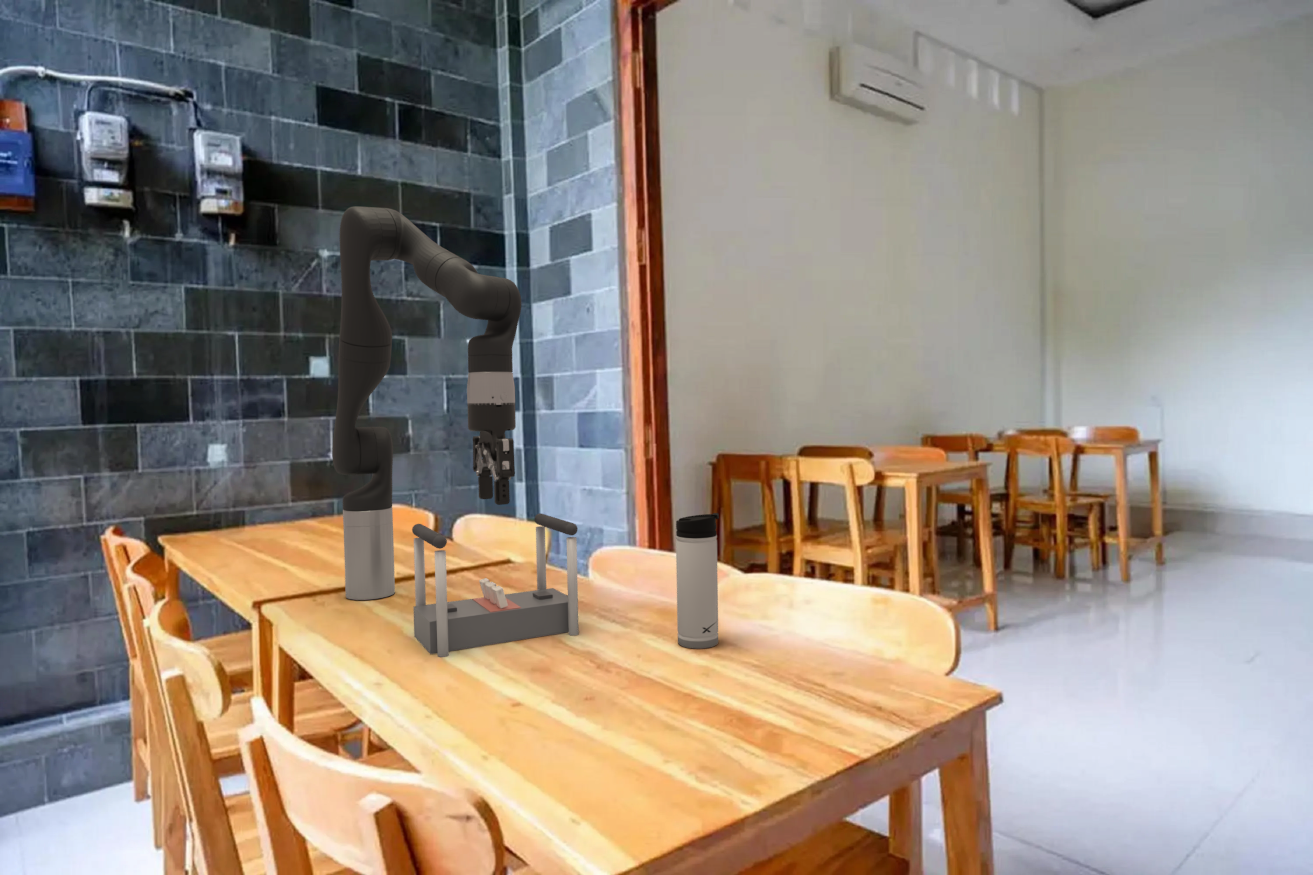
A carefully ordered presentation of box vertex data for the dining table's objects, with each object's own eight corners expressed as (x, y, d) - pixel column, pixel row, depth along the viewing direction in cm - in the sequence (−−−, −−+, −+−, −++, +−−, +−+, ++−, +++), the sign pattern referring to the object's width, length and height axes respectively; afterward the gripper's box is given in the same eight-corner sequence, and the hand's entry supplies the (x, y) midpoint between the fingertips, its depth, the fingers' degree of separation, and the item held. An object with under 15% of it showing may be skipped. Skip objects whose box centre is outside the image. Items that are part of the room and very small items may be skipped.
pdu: (411, 633, 134) (408, 538, 133) (548, 612, 145) (546, 525, 145) (434, 658, 120) (431, 552, 119) (584, 633, 132) (582, 537, 131)
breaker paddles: (483, 597, 136) (478, 580, 136) (490, 594, 137) (485, 577, 136) (500, 608, 128) (495, 590, 128) (507, 605, 129) (502, 587, 128)
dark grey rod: (532, 524, 144) (532, 513, 143) (543, 523, 144) (543, 512, 144) (568, 536, 129) (567, 524, 129) (579, 535, 130) (579, 523, 130)
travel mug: (717, 650, 122) (716, 516, 121) (674, 648, 123) (672, 516, 122) (723, 638, 128) (721, 511, 127) (681, 636, 129) (679, 510, 128)
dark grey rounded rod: (411, 535, 133) (410, 523, 133) (423, 534, 134) (423, 522, 134) (434, 550, 119) (434, 536, 119) (448, 548, 120) (448, 535, 120)
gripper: (456, 401, 135) (458, 499, 136) (481, 401, 123) (484, 508, 124) (500, 401, 139) (502, 495, 140) (528, 400, 127) (531, 504, 127)
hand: (493, 501), depth 132 cm, fingers open, 8 cm apart
